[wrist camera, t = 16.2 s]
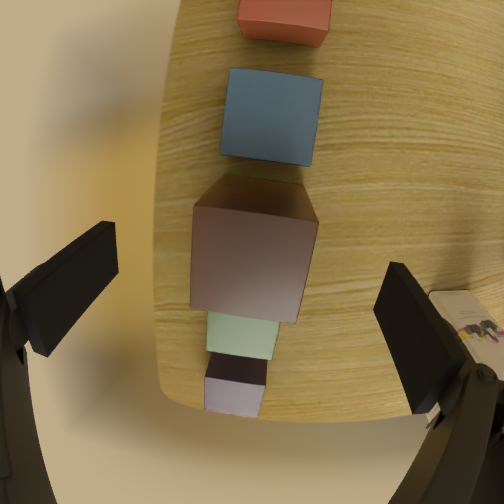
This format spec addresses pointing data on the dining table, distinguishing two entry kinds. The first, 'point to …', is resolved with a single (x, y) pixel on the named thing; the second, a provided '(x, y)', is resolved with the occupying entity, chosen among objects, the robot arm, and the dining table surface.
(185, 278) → the dining table surface
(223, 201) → the walnut block
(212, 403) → the block
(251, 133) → the block
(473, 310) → the ink box
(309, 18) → the block
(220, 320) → the block
